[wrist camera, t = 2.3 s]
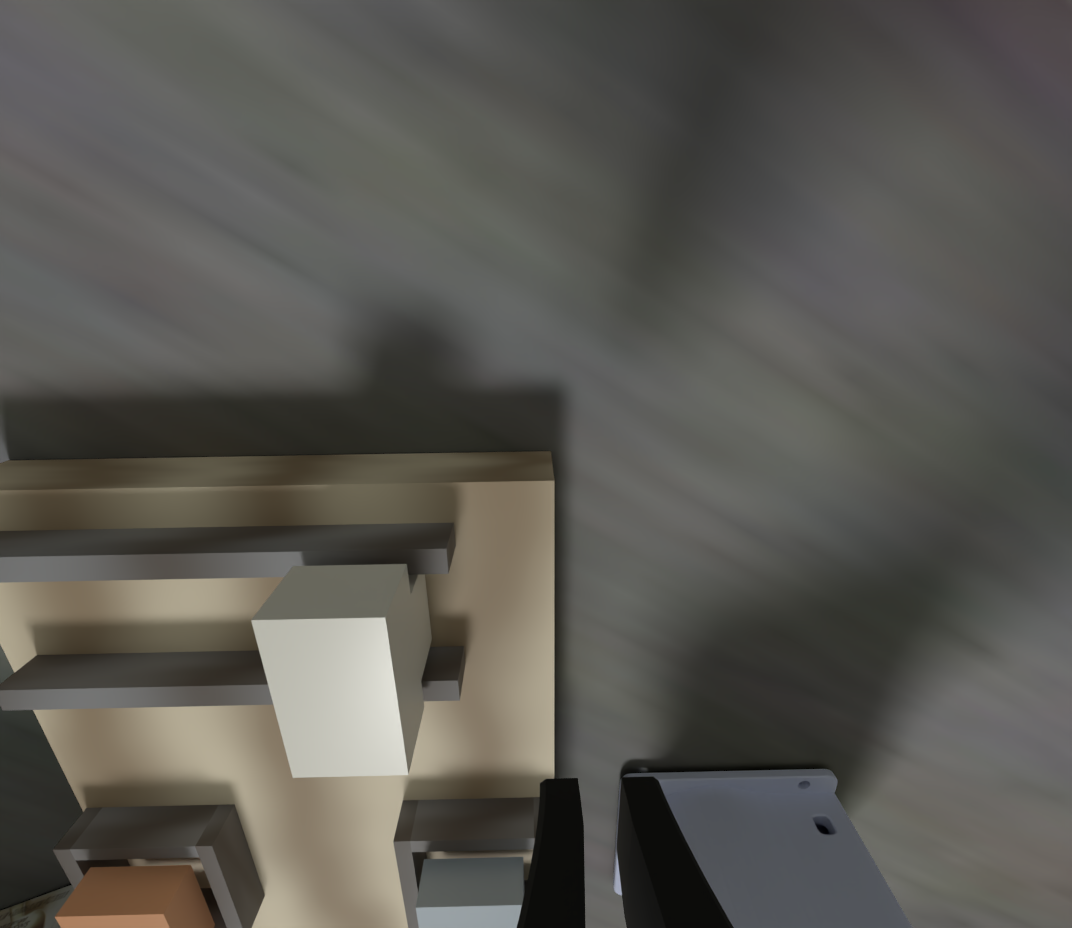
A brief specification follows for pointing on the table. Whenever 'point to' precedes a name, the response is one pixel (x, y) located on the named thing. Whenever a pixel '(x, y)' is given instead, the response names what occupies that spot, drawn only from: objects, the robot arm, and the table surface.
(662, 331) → the table surface
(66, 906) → the terracotta button
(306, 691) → the slider knob
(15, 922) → the coffee box
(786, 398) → the table surface
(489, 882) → the grey button
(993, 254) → the table surface
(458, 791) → the control panel
